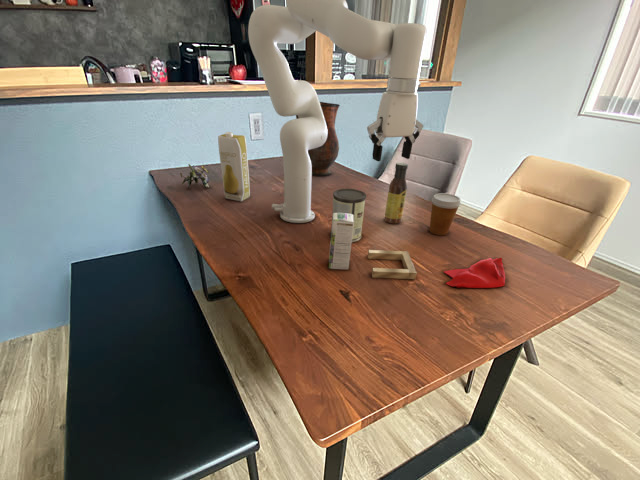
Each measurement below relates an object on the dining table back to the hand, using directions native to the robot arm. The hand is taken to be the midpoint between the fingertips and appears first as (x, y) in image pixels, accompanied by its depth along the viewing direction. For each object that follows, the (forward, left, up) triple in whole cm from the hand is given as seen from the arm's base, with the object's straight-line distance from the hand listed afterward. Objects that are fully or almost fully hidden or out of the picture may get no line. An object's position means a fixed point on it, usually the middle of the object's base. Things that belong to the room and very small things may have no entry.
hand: (391, 158), depth 102 cm
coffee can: (-10, +5, -26) cm, 29 cm away
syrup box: (-13, -15, -26) cm, 33 cm away
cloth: (+28, -18, -26) cm, 42 cm away
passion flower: (-71, +47, -26) cm, 89 cm away
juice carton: (-52, +37, -26) cm, 69 cm away
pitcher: (-21, +76, -26) cm, 83 cm away
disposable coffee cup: (+23, +12, -26) cm, 37 cm away
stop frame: (+2, -15, -26) cm, 30 cm away
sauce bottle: (+8, +20, -26) cm, 34 cm away
